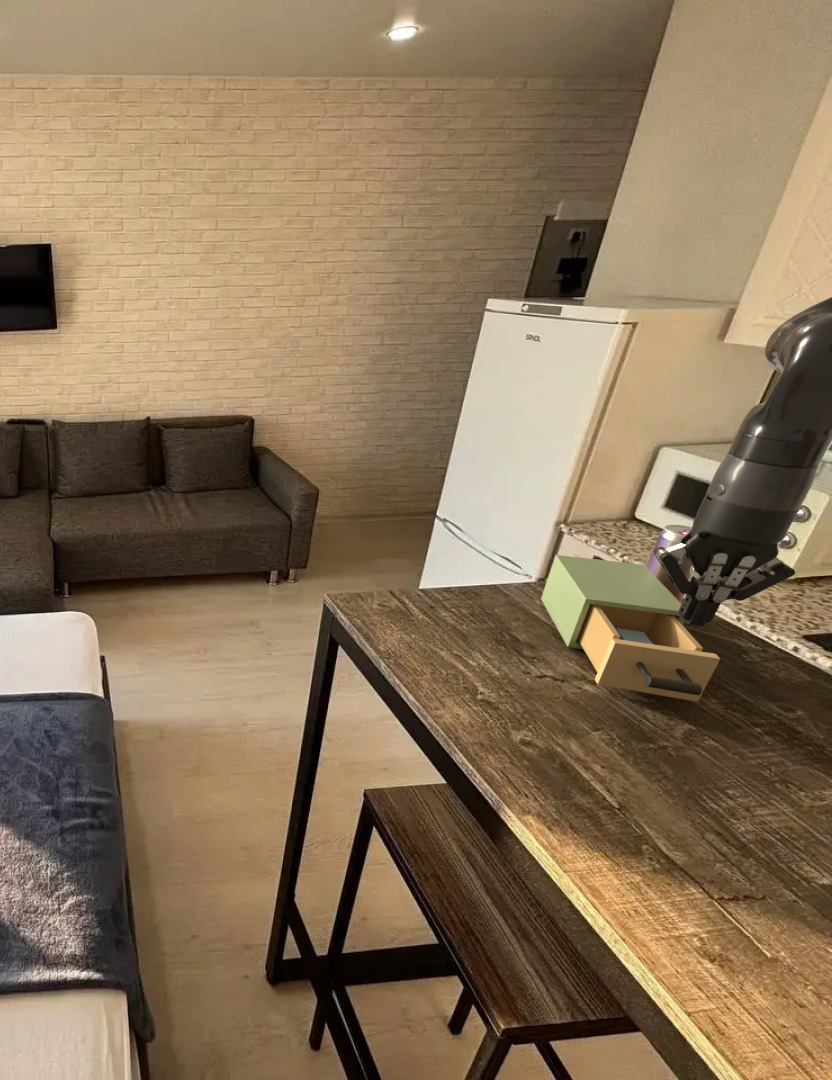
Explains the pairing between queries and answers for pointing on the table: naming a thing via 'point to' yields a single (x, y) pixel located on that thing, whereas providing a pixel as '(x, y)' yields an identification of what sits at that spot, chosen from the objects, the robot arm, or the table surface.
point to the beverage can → (666, 539)
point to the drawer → (645, 653)
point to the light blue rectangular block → (633, 636)
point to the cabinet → (601, 592)
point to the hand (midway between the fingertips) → (691, 622)
